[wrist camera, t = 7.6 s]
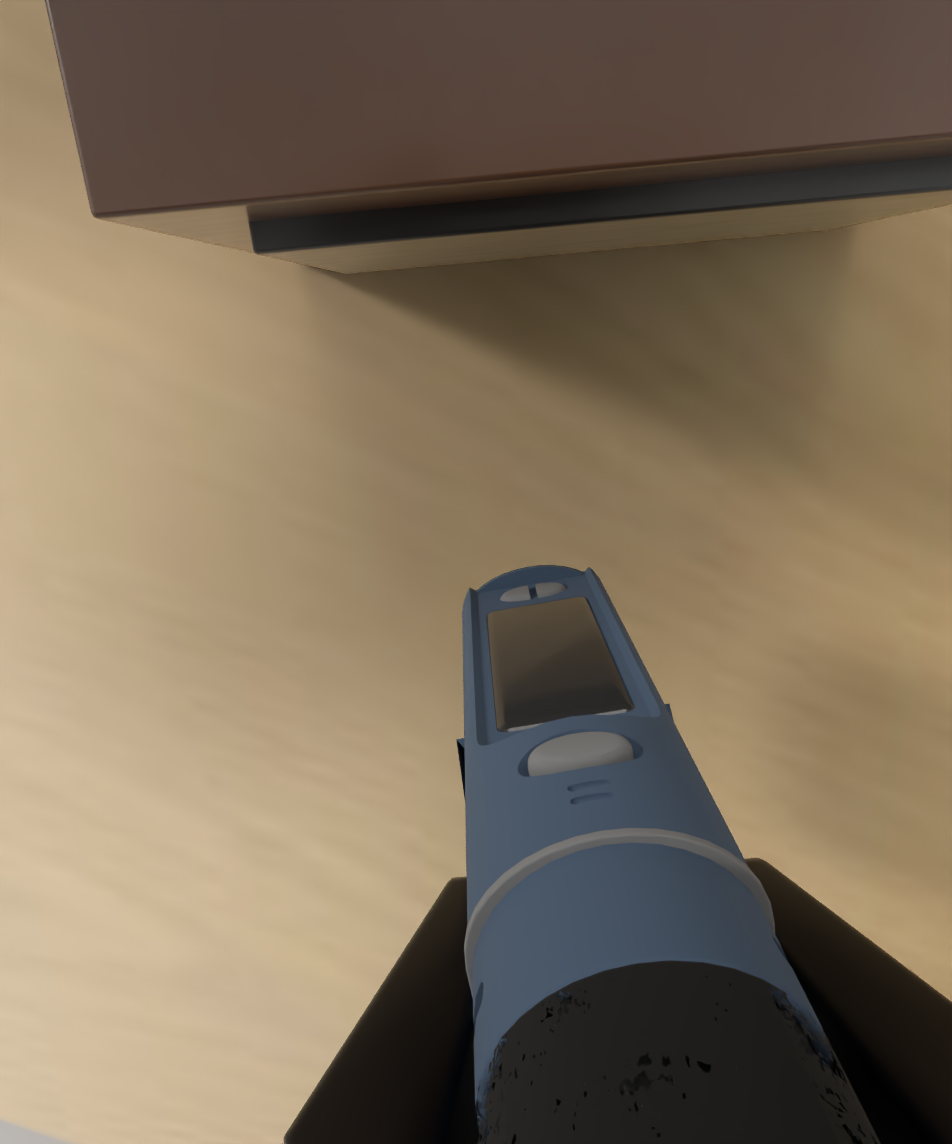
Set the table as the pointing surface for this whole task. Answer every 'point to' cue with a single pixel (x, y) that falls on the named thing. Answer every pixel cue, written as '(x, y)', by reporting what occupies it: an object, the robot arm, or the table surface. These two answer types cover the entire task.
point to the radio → (503, 121)
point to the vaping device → (616, 904)
